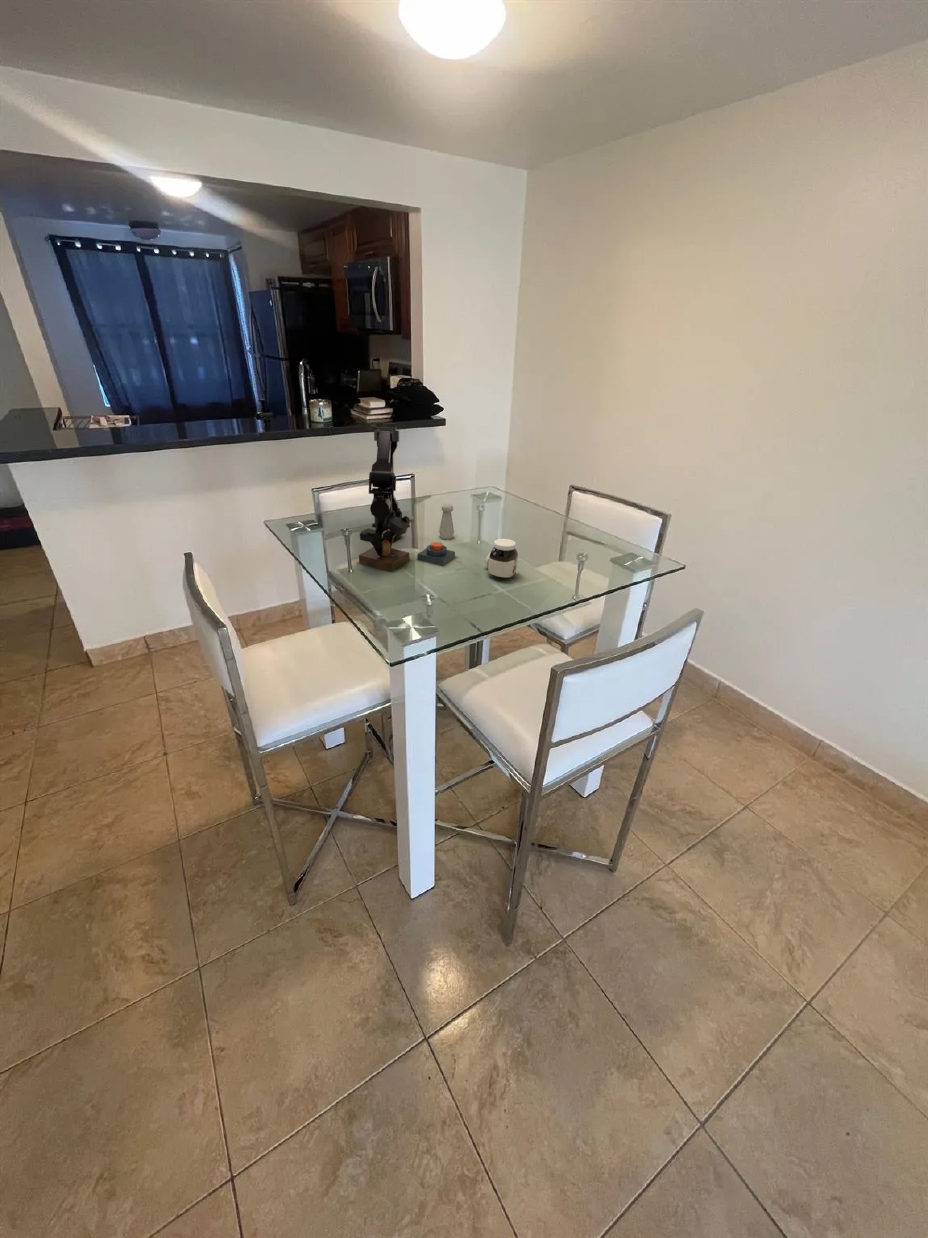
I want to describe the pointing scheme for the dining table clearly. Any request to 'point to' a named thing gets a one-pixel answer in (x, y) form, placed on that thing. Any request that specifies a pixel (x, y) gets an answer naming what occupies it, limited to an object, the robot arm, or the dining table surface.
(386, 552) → the dial
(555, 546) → the dining table surface
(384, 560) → the dial panel
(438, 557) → the button housing
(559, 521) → the dining table surface
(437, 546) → the button
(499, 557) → the spread jar
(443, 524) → the salt shaker
